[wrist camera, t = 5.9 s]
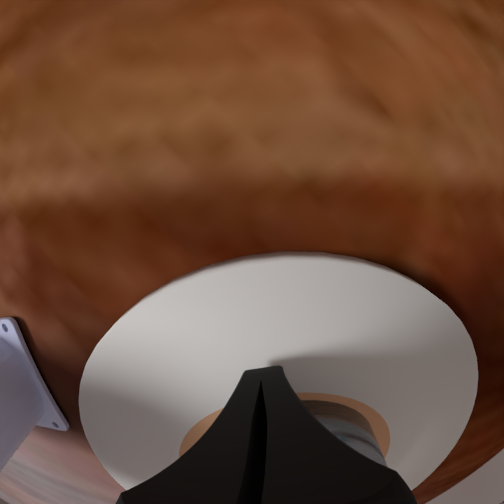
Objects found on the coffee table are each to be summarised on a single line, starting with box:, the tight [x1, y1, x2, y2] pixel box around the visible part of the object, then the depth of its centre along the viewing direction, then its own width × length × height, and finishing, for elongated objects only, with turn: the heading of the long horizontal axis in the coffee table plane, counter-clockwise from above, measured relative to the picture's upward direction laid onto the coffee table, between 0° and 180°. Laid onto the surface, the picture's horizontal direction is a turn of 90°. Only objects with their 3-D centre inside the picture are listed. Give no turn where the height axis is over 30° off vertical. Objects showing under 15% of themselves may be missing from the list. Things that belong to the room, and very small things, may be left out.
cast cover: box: [301, 400, 388, 467], centre depth 11 cm, size 8×8×3 cm
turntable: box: [79, 251, 478, 490], centre depth 13 cm, size 22×22×2 cm
